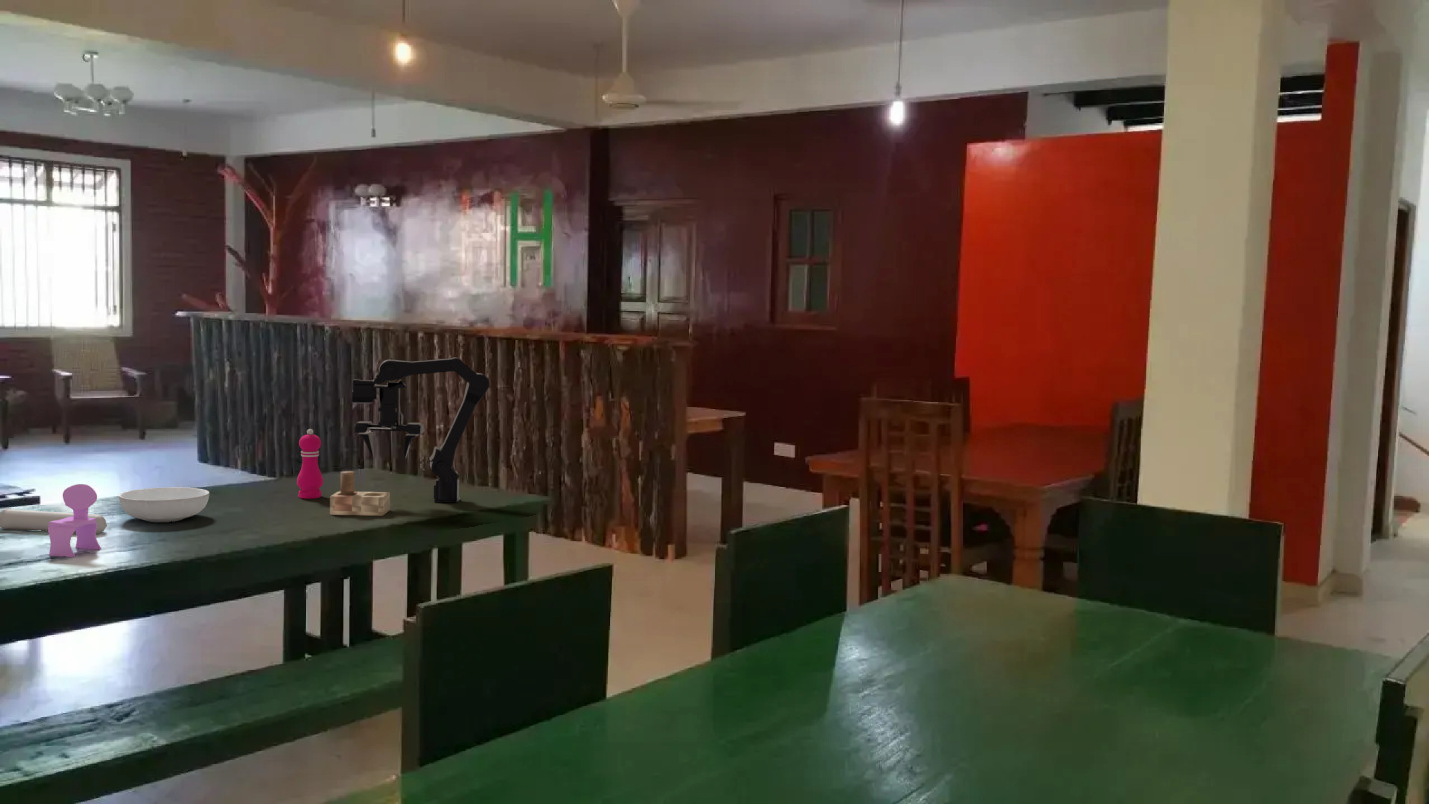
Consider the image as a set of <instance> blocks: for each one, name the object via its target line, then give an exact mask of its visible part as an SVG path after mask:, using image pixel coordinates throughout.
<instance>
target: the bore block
mask: <svg viewBox="0 0 1429 804" xmlns="http://www.w3.org/2000/svg"><path fill="white" fill-rule="evenodd" d="M390 498H391V493H390V491H389V492H385V491H383V492H382V491H354V496H348V495H341V490H339V491H337V492H334V493H333V494H332V495H330V497H329V515H334V516H335V515H337V516H339V515H340V516H381V517H382V516H384V515H385V514H387V513H388V512H389V511H391V507H390V506H391V504H390V502H391V499H390Z"/></svg>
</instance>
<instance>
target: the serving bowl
mask: <svg viewBox="0 0 1429 804" xmlns="http://www.w3.org/2000/svg"><path fill="white" fill-rule="evenodd" d="M209 498H210V491H209V490H206V489H201V488H198V487H197V488H195V487H180V486H179V487H173V486H172V487H170V486H169V487H151V488H148V487H147V488H140V489H132V490H128V491H124V492H122V493H119V495H118V500H119V504H120V507H121V508H122V510H123V512H125V513H126V514H127V515H128V516H130V517H131V518H135V519H138V520H143V521H146V522H150V523H169V522H171V521H172V522H177V521H183V519H187V518H189V517H193V516H194V515H197V514H199V513H200V512H202V511H203V510H204V508H205V507H206V506H207V505H208V501H209Z"/></svg>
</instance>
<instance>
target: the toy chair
mask: <svg viewBox="0 0 1429 804" xmlns="http://www.w3.org/2000/svg"><path fill="white" fill-rule="evenodd" d="M62 499H63V502H64V505H65V506H66V507H68V508H69V509H72V513H73V517H67V518H64V519H61V520H56V521H51V522H49V527H48V533H47V534H48V536H49V541H50V542H49V543H50V544H49V545H50V548H49V552H48V553H49V554H48V556H53V557H63V556H66V557H67V558H76V554H75V553H74V552H73V550H72V546H71V540H72V536H73V535H74V534H76V542H75V543H76V544H75V549H89V550H100V551H101V550H102V547H101V546H100V543H99V542H98V540H97V536H96V535H97V534H96V528H97V523H96V518H88V514H89V508H90V507H91V506H92V505H94V504H95V503H96V502H97V500H98V495H97V492H96V491H95V489H94V488H93V487H92V486H90V485H89V484H84V483H77V484H74V485H71V486H68V487H66V488H65V489H64V490H63V492H62ZM74 531H76V533H74Z"/></svg>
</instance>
